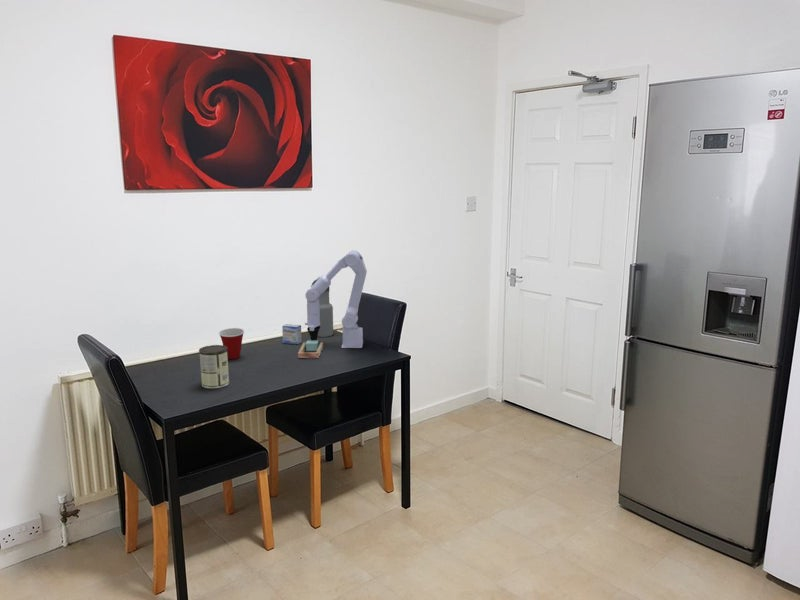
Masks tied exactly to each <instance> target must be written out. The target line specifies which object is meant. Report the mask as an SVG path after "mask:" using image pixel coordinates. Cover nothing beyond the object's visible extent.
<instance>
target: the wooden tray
mask: <svg viewBox="0 0 800 600" xmlns="http://www.w3.org/2000/svg"><path fill="white" fill-rule="evenodd" d="M306 342H307V341H302V344H301V346H300V348H299V350H298V352H297V359H298V358H308V360H309V358H311V359H312V358H313V359H314V358H320V357H321V354H322V352H321V351H323V348H324V341H320V343H318V349H317V351H306V349H305V348H306ZM305 351H306V352H305ZM319 356H320V357H319ZM313 359H312V360H313ZM314 360H315V359H314Z"/></svg>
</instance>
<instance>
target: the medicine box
mask: <svg viewBox="0 0 800 600" xmlns="http://www.w3.org/2000/svg"><path fill="white" fill-rule="evenodd" d="M281 331H282V344H283V343H288V344H287V345H296V344H298V345H299V343H300V344H301V343H303V341H302V325H300V324H291V323H290V324H289V323H286V324H283V325H282V330H281Z"/></svg>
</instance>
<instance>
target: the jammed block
mask: <svg viewBox="0 0 800 600" xmlns="http://www.w3.org/2000/svg"><path fill="white" fill-rule="evenodd" d="M305 342H306V349H305V351H306V352H316V351H317V349H318V347H319V340H318V339H317V340H311V339H310V340H309V339H308V340H307V341H305Z"/></svg>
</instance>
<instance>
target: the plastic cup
mask: <svg viewBox="0 0 800 600" xmlns="http://www.w3.org/2000/svg"><path fill="white" fill-rule="evenodd" d="M244 333H245V330H244V329H243V328H239V327H230V328H225V329H222V330H220V331H219V332H218V335H219V337H220V338H221V339H220V340H221V341H222V345H223V346H226V347H227V355H228V360H237V358H238V359H239V357H241V353H242V352H241V351H242V345H243V339H244V338H243V337H244Z"/></svg>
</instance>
